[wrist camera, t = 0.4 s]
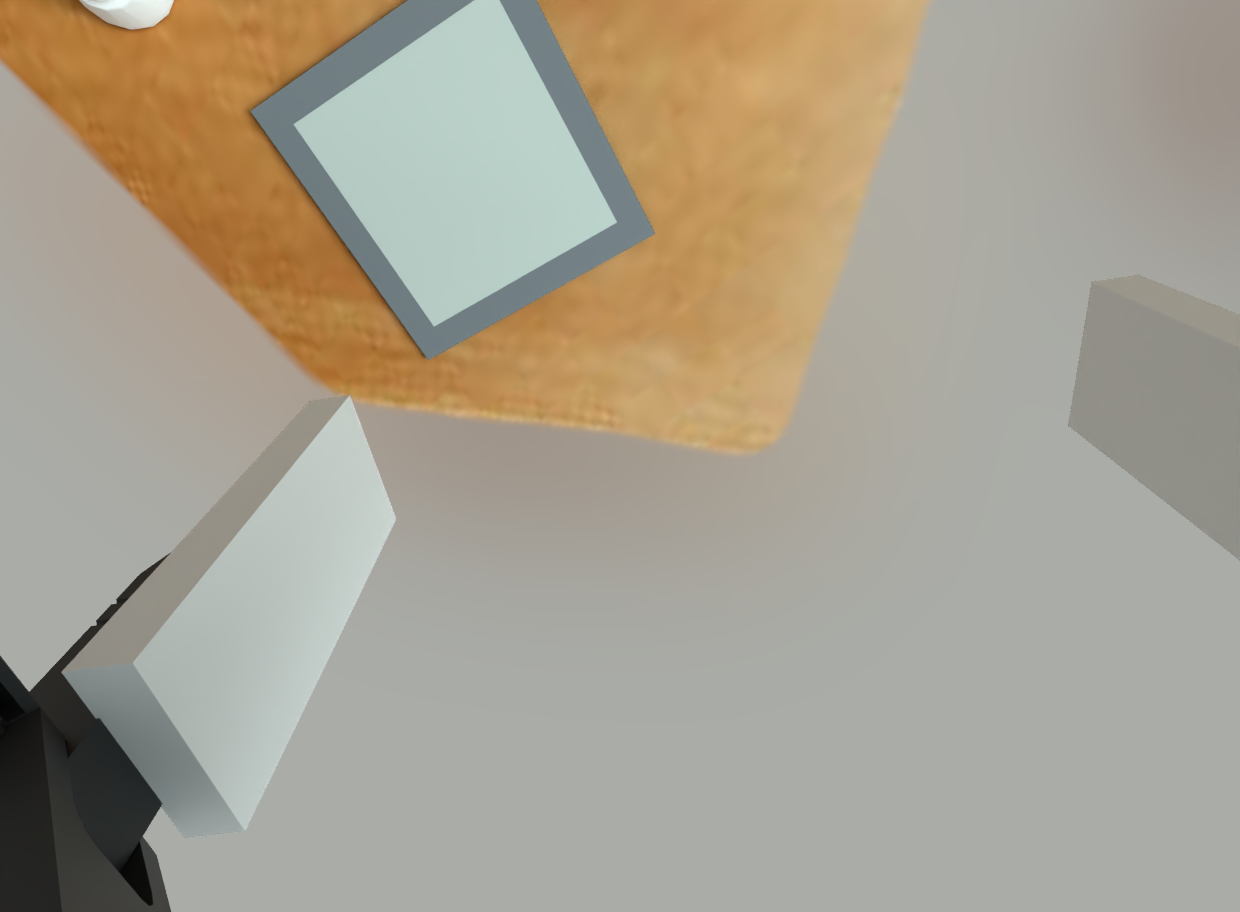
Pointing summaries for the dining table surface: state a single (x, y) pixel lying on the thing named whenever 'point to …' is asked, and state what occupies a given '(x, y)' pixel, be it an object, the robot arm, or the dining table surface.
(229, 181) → the dining table surface
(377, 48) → the coaster
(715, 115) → the dining table surface
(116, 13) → the lidless jar
